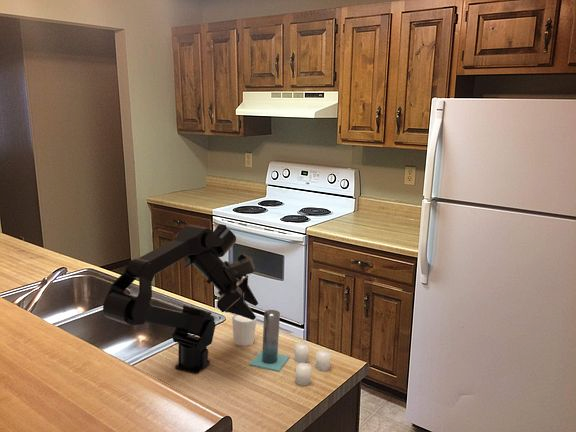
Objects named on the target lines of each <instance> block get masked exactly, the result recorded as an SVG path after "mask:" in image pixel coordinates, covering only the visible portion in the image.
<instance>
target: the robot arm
mask: <svg viewBox="0 0 576 432" xmlns="http://www.w3.org/2000/svg"><path fill="white" fill-rule="evenodd" d="M236 242H237V237H236V235H235V234H234V232H233V231H231V230H230V229H229V228H227V225H226V224H218V225H217V226H216V228H215V229H214V230H213V231H212V229H211V228H210V227H204V226H199V225H194V224H186V225H185V226H184V227H182V228H181V229H180V230H179V231H178V232H177V233H176V236H175V237H174V238H173V239H172V240H170V241H167V242H166V243H165V244H163V245H160V246H159V247H156V248H155V249H153V250H151V251H149V252H147V253H145V254H144V255H142V256H140V257H139V258H138V257H137V258H135V259H131V260H130V261H129V262H128V263H127V265H126V267H125V270H124V271H123V273H121V274H120V275H119V277H118V278H117V279H115V280H114V282H112V284H111V286H110V288H109V290H108V292H107V294H106V296H105V299H104V301H103V304H102V305H103V306H102V312H103V316H104V317H105V318H107V319H110V320H113V321H116V322H119V323H122V324H126V325H129V326H130V327H131V326H143V325H145V324H147V323H150V324H156V325H161V326H166V327H170V328H175V329H174V331H173V332H172V335H171V338H172V341H173V342H174V343H177V344H178V345H177V346H178V348H177V349H178V354H177V355H178V359H177V360H178V363H177V364H176V365H174V369H175V370H179V371H184V372H187V373H192V374H199V373H200V372H201V371H202V370H204V369H205V368H206V366H208V364H210V359H209V348H207V347H208V346H210V345H212V343H213V339H214V334H215V330H216V322H215V317H214V316H213V314H212V311H211V312H210V311H207V310H204V309H200V308H197V307H193V306H188V305H185V304H183V306H182V310H181V311H179V310H174V309H169V308H165V307H161V306H157V305H153V304H152V303H151V300H152V298H153V283H152V282H153V281H154V277H155V276H156V275H157V274H159V273H160V272H162V271H164V270H166V269H167V268H168V267H169V268H170V267H171V266H173V265H174V264H176V263H178V262H179V261H181V260H183V259H184V264H183V265H184V268H185V269H187V268H189V267H190V266H191V265H193V266H194V267H195V268H196V269H197V271H199V272H200V273H201V274H202V275H203V276H204V277H205V278H206V280H205V281H206V283H207V284H208V285H210V284H212V285H213V286H214V287H215V288H216V289H217V290H218V291H217V294H218V295H219V297H218V298H217V301H216V308H217V309H218V310H220V312H222V313H224V312H225V313H229V314H234V315H240V316H243V317H245V318H248V319H251V320H254V319H255V318H256V319H257V316H256V315H255V313H254V312H253V310H252V309H251V308H250V305H252V306H255V307H256V306H257V305H259V302H258V300H257V298H256V297H255V295H254V293H253V291H252V290H251V288H250V285H249V275H251V274H252V273H254V272H255V269H256V266H255V264H254V261H253V259H254V258H252V257H251V255H248V254H246V253H245V252H243V253H240V254H238V256H237V260H235V261H234V262H232V263H230V262H229V261H227V260H224V261H223V260H222V259H221V258H222V257H224V256H225V255H226V253H228V251H230V249H231V248H232V247H233V245H235V243H236ZM137 279H138V281H139V282H138V285H139V287H138V288H139V289H138V295H137V296H135V295H132V294H129V293H125V290H127V288H129V286H130V285H131V284H132V283H133V282H135V280H137ZM248 303H249V304H250V305H248Z"/></svg>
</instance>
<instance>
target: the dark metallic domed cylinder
mask: <svg viewBox="0 0 576 432" xmlns="http://www.w3.org/2000/svg"><path fill="white" fill-rule="evenodd" d="M280 315H281V313H280V311H278V310H277V309H276V310H275V309H267V310H265V311H264V313H263V327H262V328H263V330H262V331H263V332H262V346H261V347H262V361H263V362H264V363H267V364H273V363H276V362H277V357H278V354H279V338H280V337H279V334H280V317H281V316H280Z"/></svg>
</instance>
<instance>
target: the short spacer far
mask: <svg viewBox="0 0 576 432" xmlns="http://www.w3.org/2000/svg"><path fill="white" fill-rule="evenodd" d="M331 355H332V353H331V351H329V350H326V349H319V350H317V351H316V358H315V369H316V370H317V371H320V372H328V371H330V368H331Z"/></svg>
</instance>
